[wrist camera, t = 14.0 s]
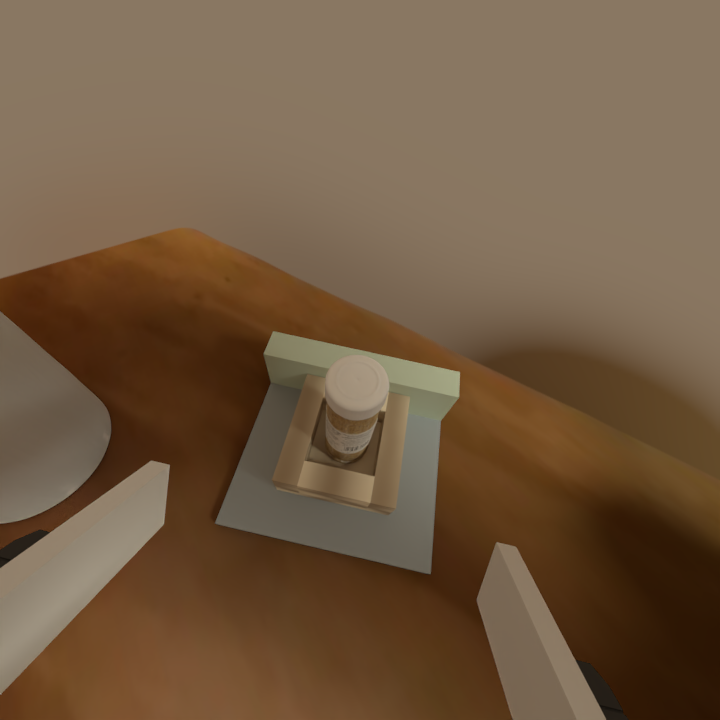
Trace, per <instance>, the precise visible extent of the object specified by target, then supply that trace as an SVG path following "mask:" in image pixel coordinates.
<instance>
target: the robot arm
mask: <svg viewBox="0 0 720 720" xmlns="http://www.w3.org/2000/svg"><path fill="white" fill-rule="evenodd" d="M169 469H170V465H168V464H164V463H160V462H156V461H150V462H149V463H147V464H146V465H144V466H143V467H142V468H140V469H139V470H137V471H136V472H135V473H133V474H132V475H130V476H129V477H128V478H126V479H125V480H123V481H122V482H121V483H119V484H118V485H116V486H115V487H114V488H112V489H111V490H109V491H108V492H107V493H105V494H104V495H102V496H101V497H100V498H98V499H97V500H95V501H94V502H93V503H91V504H90V505H88V506H87V507H85V508H84V509H83V510H81V511H80V512H78V513H77V514H76V515H74V516H73V517H71V518H70V519H69V520H67V521H66V522H64V523H63V524H62V525H60V526H59V527H57V528H56V529H55V530H53V531H52V532H47V531H43V530H38V531H35V532H33V533H31V534H28V535H26V536H24V537H22V538H19V539H17V540H15V541H13V542H12V543H10V544H9V545H7V546H6V547H4V548H3V549H1V550H0V695H1V694H2V692H3V691H4V690H5V689H6V688H7V687H8V686H9V685H10V684H11V683H12V682H13V681H14V680H15V679H16V678H17V677H18V676H19V675H20V674H21V673H22V672H23V671H24V670H25V669H26V667H27V666H28V665H29V664H30V663H31V662H32V661H33V660H34V659H35V658H36V657H37V656H38V655H39V654H40V653H41V652H42V651H43V650H44V649H45V648H46V647H47V646H48V645H49V644H50V642H51V641H52V640H53V639H54V638H55V637H56V636H57V635H58V634H59V633H60V632H61V631H62V630H63V629H64V628H65V627H66V626H67V625H68V624H69V623H70V622H71V621H72V620H73V619H74V617H75V616H76V615H77V614H78V613H79V612H80V611H81V610H82V609H83V608H84V607H85V606H86V605H87V604H88V603H89V602H90V601H91V600H92V599H93V598H94V597H95V596H96V595H97V593H98V592H99V591H100V590H101V589H102V588H103V587H104V586H105V585H106V584H107V583H108V582H109V581H110V580H111V579H112V578H113V577H114V576H115V575H116V574H117V573H118V572H119V571H120V570H121V568H122V567H123V566H124V565H125V564H126V563H127V562H128V561H129V560H130V559H131V558H132V557H133V556H134V555H135V554H136V553H137V552H138V551H139V550H140V549H141V548H142V547H143V546H144V545H145V543H146V542H147V541H148V540H149V539H150V538H151V537H152V536H153V535H154V534H155V533H156V532H157V531H158V530H159V529H160V528H161V527H162V526H163V525H164V519H165V509H166V499H167V489H168V479H169ZM477 603H478V607H479V610H480V613H481V617H482V620H483V623H484V627H485V630H486V633H487V637H488V640H489V643H490V647H491V650H492V653H493V656H494V660H495V663H496V666H497V670H498V673H499V676H500V680H501V683H502V686H503V690H504V693H505V696H506V700H507V703H508V706H509V710H510V713H511V716H512V719H513V720H628V718H627V717H626V715H624V714H623V710H622V708H621V706H620V704H619V703H618V701H617V699H616V697H615V696H614V694H613V692H612V690H611V689H610V687H609V685H608V684H607V683H606V682H605V681H604V680H603V678H602V677H601V676H600V675H599V674H598V672H597V671H596V670H595V669H594V668H593V667H592V665H591V664H590V663H586V662H582V661H578V660H575V659H574V657H573V655H572V653H571V651H570V649H569V647H568V645H567V643H566V641H565V639H564V638H563V636H562V634H561V632H560V630H559V628H558V626H557V624H556V622H555V620H554V618H553V616H552V615H551V613H550V611H549V609H548V607H547V605H546V603H545V601H544V599H543V597H542V595H541V594H540V592H539V590H538V588H537V586H536V584H535V582H534V580H533V578H532V576H531V574H530V572H529V571H528V569H527V567H526V565H525V563H524V561H523V559H522V557H521V555H520V553H519V551H518V550H517V548H516V547H515V546H511V545H506V544H502V543H498V542H496V545H495V548H494V551H493V554H492V556H491V559H490V562H489V565H488V568H487V571H486V574H485V577H484V580H483V582H482V585H481V588H480V591H479V594H478V597H477Z"/></svg>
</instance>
